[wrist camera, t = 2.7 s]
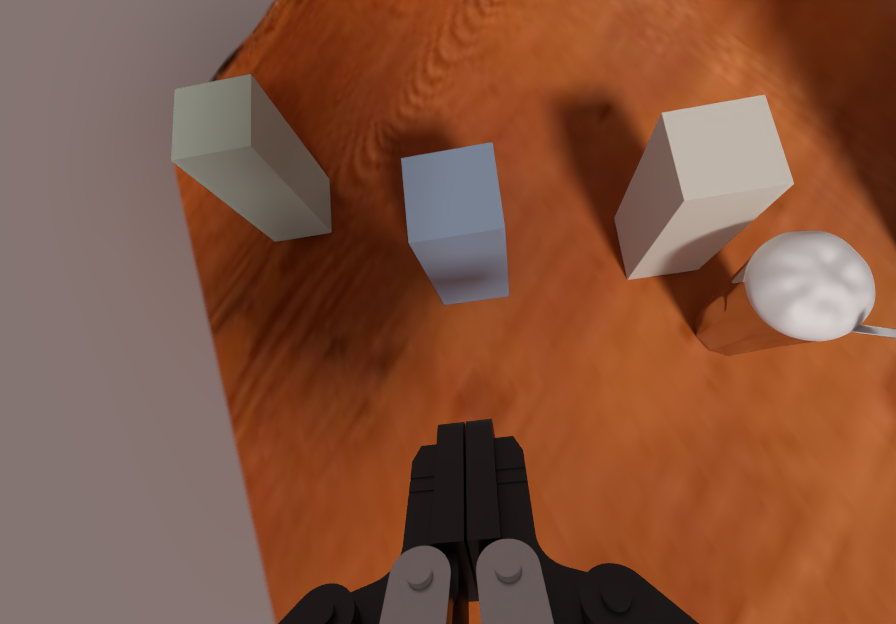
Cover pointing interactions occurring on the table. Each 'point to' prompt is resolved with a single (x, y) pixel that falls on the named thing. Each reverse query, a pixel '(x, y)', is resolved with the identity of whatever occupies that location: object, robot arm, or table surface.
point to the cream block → (700, 185)
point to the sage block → (250, 158)
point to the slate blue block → (457, 222)
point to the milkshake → (791, 296)
